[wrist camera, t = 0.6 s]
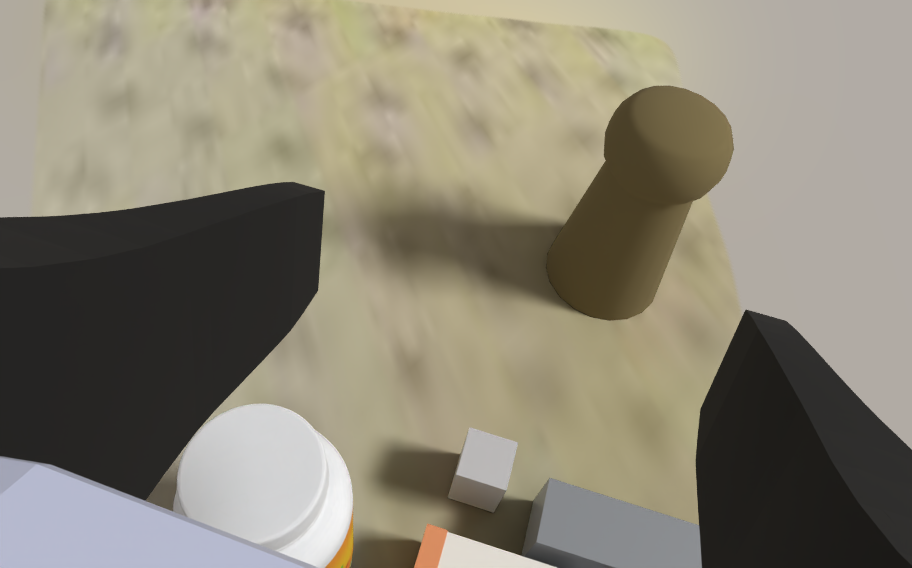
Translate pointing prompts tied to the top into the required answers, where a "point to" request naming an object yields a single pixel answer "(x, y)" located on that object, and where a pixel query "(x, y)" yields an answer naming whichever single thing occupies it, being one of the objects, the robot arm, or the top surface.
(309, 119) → the top surface
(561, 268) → the cork
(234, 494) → the supplement bottle
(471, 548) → the orange-ended white block
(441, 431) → the top surface
